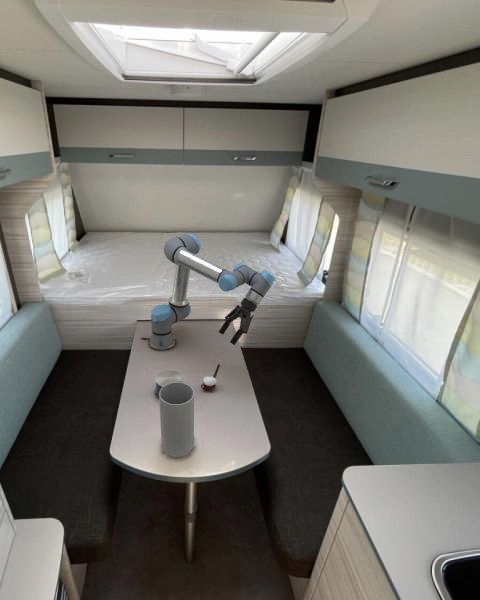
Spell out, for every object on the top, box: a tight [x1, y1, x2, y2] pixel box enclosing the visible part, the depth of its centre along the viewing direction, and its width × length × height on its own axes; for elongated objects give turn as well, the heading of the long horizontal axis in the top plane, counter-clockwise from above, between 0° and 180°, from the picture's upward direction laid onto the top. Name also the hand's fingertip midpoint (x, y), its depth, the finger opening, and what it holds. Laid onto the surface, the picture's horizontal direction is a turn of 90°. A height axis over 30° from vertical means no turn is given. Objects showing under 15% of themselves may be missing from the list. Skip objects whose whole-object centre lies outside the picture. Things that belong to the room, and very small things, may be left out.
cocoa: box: [200, 363, 221, 392], centre depth 155 cm, size 10×6×12 cm, turn 96°
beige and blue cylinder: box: [154, 369, 183, 398], centre depth 153 cm, size 12×12×8 cm
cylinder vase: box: [158, 381, 195, 458], centre depth 122 cm, size 12×12×25 cm
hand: (226, 338), depth 155 cm, fingers open, 13 cm apart
